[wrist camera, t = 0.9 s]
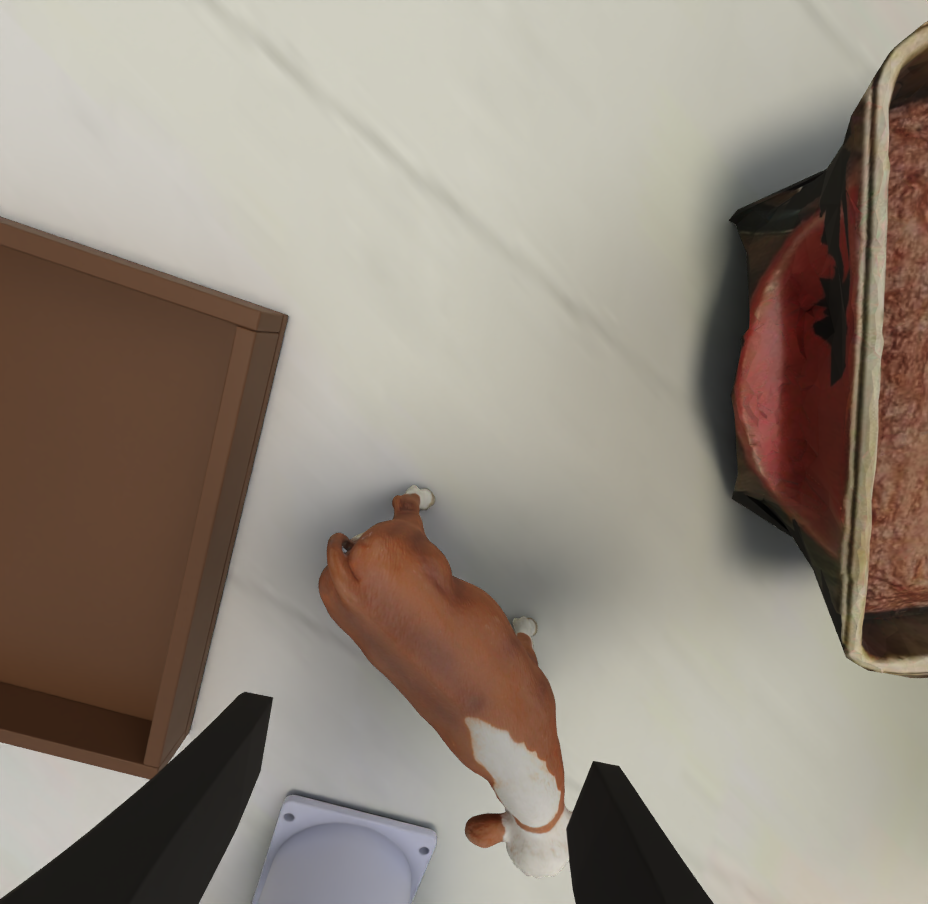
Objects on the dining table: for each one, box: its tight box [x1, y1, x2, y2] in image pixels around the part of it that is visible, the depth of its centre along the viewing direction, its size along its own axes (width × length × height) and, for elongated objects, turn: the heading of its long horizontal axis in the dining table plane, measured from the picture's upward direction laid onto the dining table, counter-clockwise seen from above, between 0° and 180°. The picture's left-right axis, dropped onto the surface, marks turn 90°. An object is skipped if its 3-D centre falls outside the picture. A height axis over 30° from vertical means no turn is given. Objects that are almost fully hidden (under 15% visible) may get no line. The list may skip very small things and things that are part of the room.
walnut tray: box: [0, 217, 288, 780], centre depth 18 cm, size 20×13×2 cm, turn 161°
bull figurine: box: [318, 485, 573, 878], centre depth 16 cm, size 4×13×8 cm, turn 32°
